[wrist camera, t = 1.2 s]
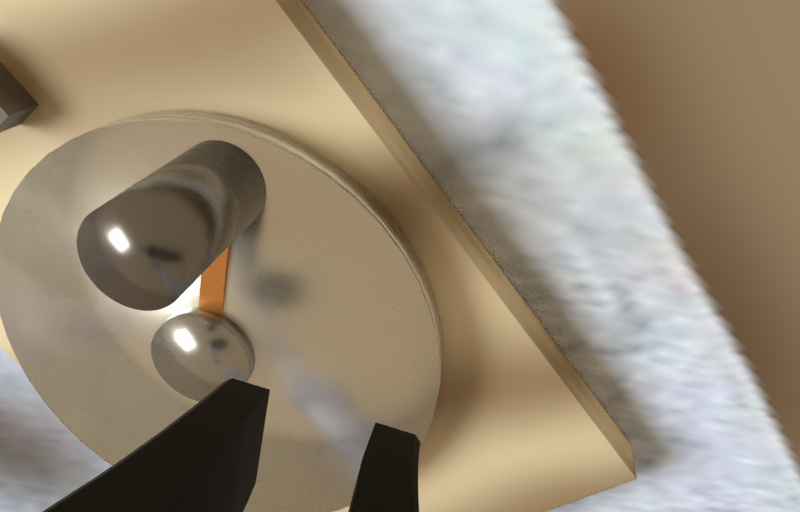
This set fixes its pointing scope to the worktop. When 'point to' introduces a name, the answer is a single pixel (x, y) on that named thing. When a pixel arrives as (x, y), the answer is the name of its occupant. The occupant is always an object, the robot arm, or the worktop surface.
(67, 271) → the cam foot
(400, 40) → the worktop surface
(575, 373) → the stand plate
